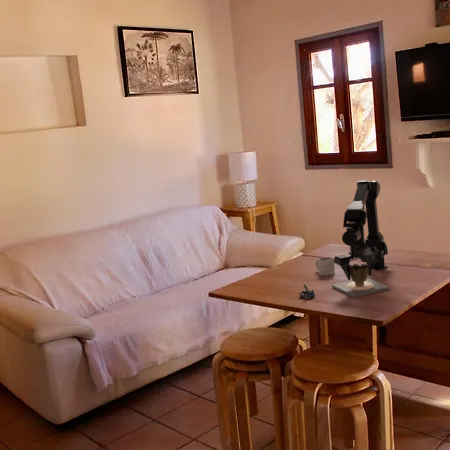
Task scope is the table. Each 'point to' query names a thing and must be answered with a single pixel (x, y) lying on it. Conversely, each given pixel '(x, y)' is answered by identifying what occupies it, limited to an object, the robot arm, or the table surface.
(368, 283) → the board
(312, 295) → the dark blue lumpy piece
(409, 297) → the table surface
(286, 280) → the table surface
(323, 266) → the mug
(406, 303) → the table surface
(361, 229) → the robot arm
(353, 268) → the brown mottled round piece
